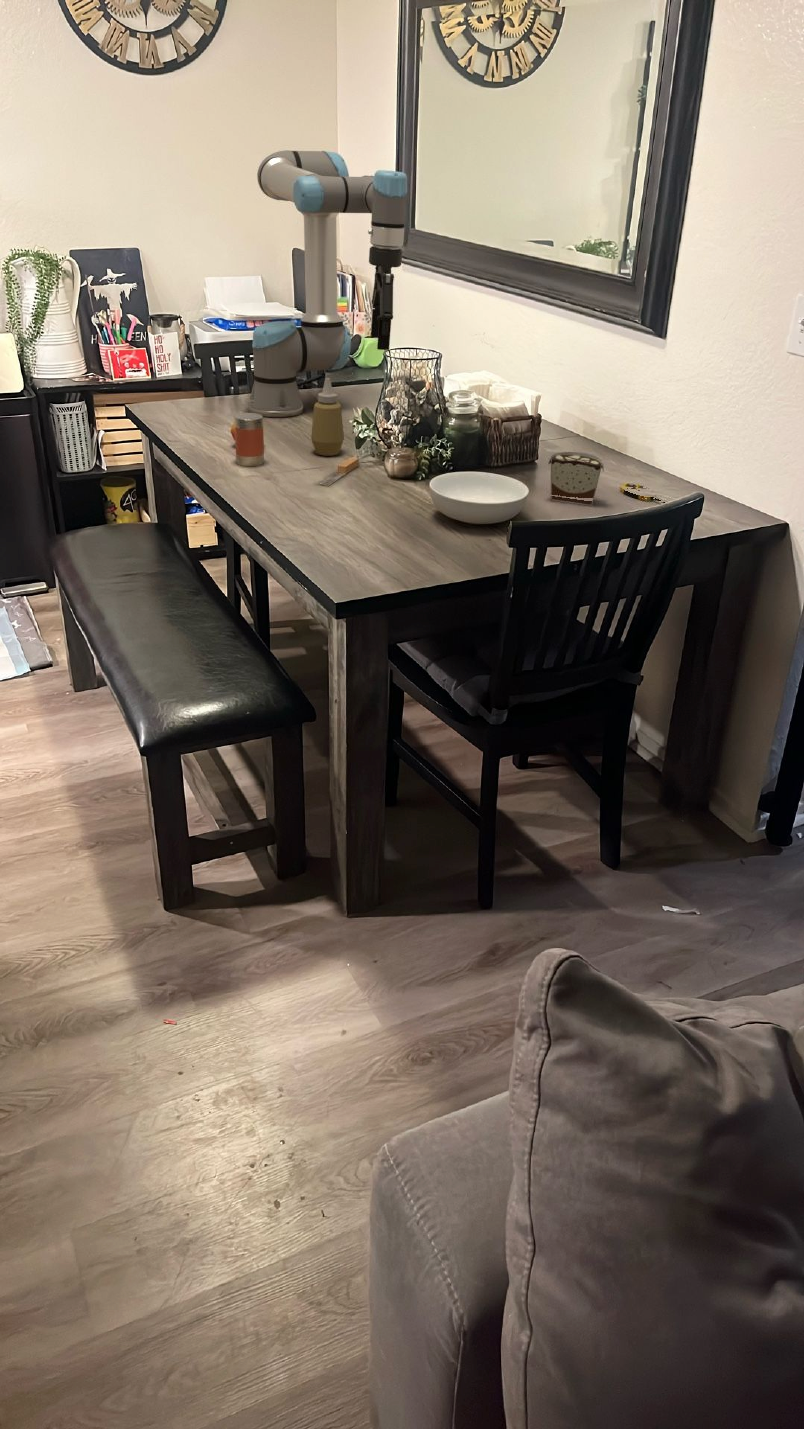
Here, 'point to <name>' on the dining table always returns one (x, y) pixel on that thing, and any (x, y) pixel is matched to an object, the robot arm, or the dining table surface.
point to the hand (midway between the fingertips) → (379, 343)
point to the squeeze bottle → (327, 423)
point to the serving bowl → (478, 496)
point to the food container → (574, 476)
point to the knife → (341, 471)
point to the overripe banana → (635, 494)
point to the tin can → (249, 439)
